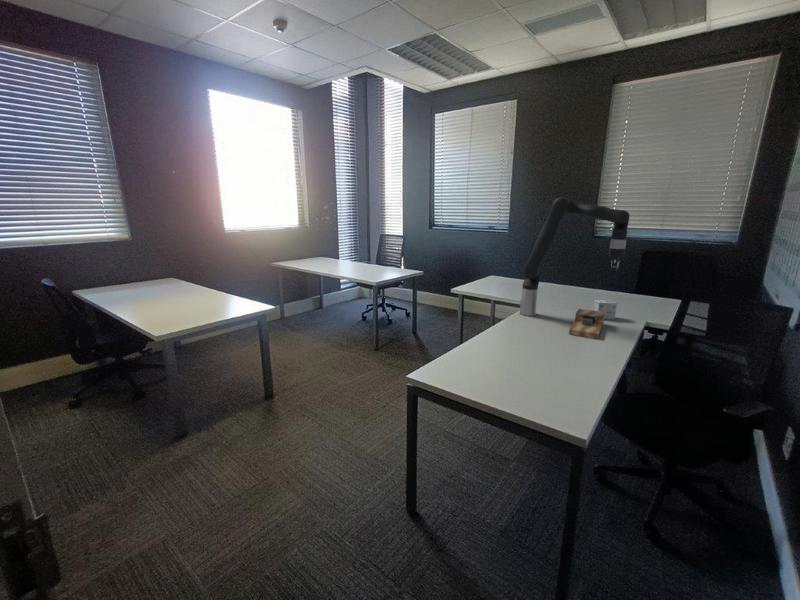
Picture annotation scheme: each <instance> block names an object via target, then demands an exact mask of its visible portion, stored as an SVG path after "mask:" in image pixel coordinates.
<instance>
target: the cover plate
mask: <svg viewBox="0 0 800 600" xmlns="http://www.w3.org/2000/svg"><path fill="white" fill-rule="evenodd" d="M594 320H595V318H594V317H587V316H584V318H583V319H582V325H588V326H592V324H593V322H594Z"/></svg>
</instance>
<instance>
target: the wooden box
mask: <svg viewBox="0 0 800 600" xmlns="http://www.w3.org/2000/svg"><path fill="white" fill-rule="evenodd" d="M604 315H605V312H600V311H594V310H591V309H584V308H578V310H577V311H576V312H575V317H574V321H573V323H572V325H571V326H570V328H569V330H568V331H569V332H568V335H569V334H570V336H575V335H576V336H577V337H581V336H582V338H587V337H589V338H590V339H594V338H595V339H594V340H598V339H599V337H600V334H601V332H600V331H602V329H603V326H604V322H605V319H604ZM584 316H587V317H594V318H595V320H594V322H593V324H592V326H588V325H582V319H583V318H584ZM576 336H575V337H576Z"/></svg>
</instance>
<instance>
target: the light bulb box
mask: <svg viewBox="0 0 800 600" xmlns="http://www.w3.org/2000/svg"><path fill="white" fill-rule="evenodd" d="M617 305H618V302H616V301H614V300H610V299H609V300H605V299H603V300H600V299H599V300H598V299H597V300H596V299H595V300H594V307H593V311H600V312H605V315H604V320H616V313H617Z"/></svg>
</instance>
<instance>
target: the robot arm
mask: <svg viewBox="0 0 800 600" xmlns="http://www.w3.org/2000/svg"><path fill="white" fill-rule="evenodd" d="M565 214H575V215H581V216H584V217H588V218H592V219H595V220H601V221H607V222H609V223H610V222H611V223H613V229H612V232H611V238H610V239H611V240H610V242H609V250H608V256H609V257H613V258H611V260H610V263H611V264H610V267H611V268H610V270H611V273H610V278H612V279H615V278H616V276H617V274H618V269H619V266H620V262H621V259H620V258H621V257H622V258H623V257H624V256H625V253H626V246H627V235H628V226H629V223H630V222H629V221H630V213H629V211H628V210H624V209H622V210H621V209H615V208H611V207H607V206H603V205H597V204H588V203H582V202H578V201H575V200H572V199H570V198H567V197H565V196H563V197H562V196H561V197H557V198H556V199H555V200H554V201H553V202H552V204H551V208H550V210H549V214H548V216H547V218H546V221H545V223H544V224H543V226H542V228H541V229H540V232H539V233H538V236H537V238H536V241H535V243H534V246H533V248H532V251H531V253H530V255H529V258H528V259H527V261H526V263H525V265H524V266H523V267H522V275H523V277H524V279H523V283H522V291H521V299H520V301H519V302H520V303H519V304H520V306H519V314H520V313H521V314H520V315H522V316H525V315H526V317H534V316H536V315H537V314H536V312H537V302H538V301H537V300H538V299H537V298H538V288H539V283H540V277H541V267H540V265H541V263H542V261H543V259H544V258H545V256H546V255H547V253H548V252H549V251H550V250H551V249H550V248H552V245H553V243H554V241H555V239H556V236H557V234H558V229H559V226H560V224H561V221H562V218H563V217H564V215H565Z"/></svg>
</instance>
